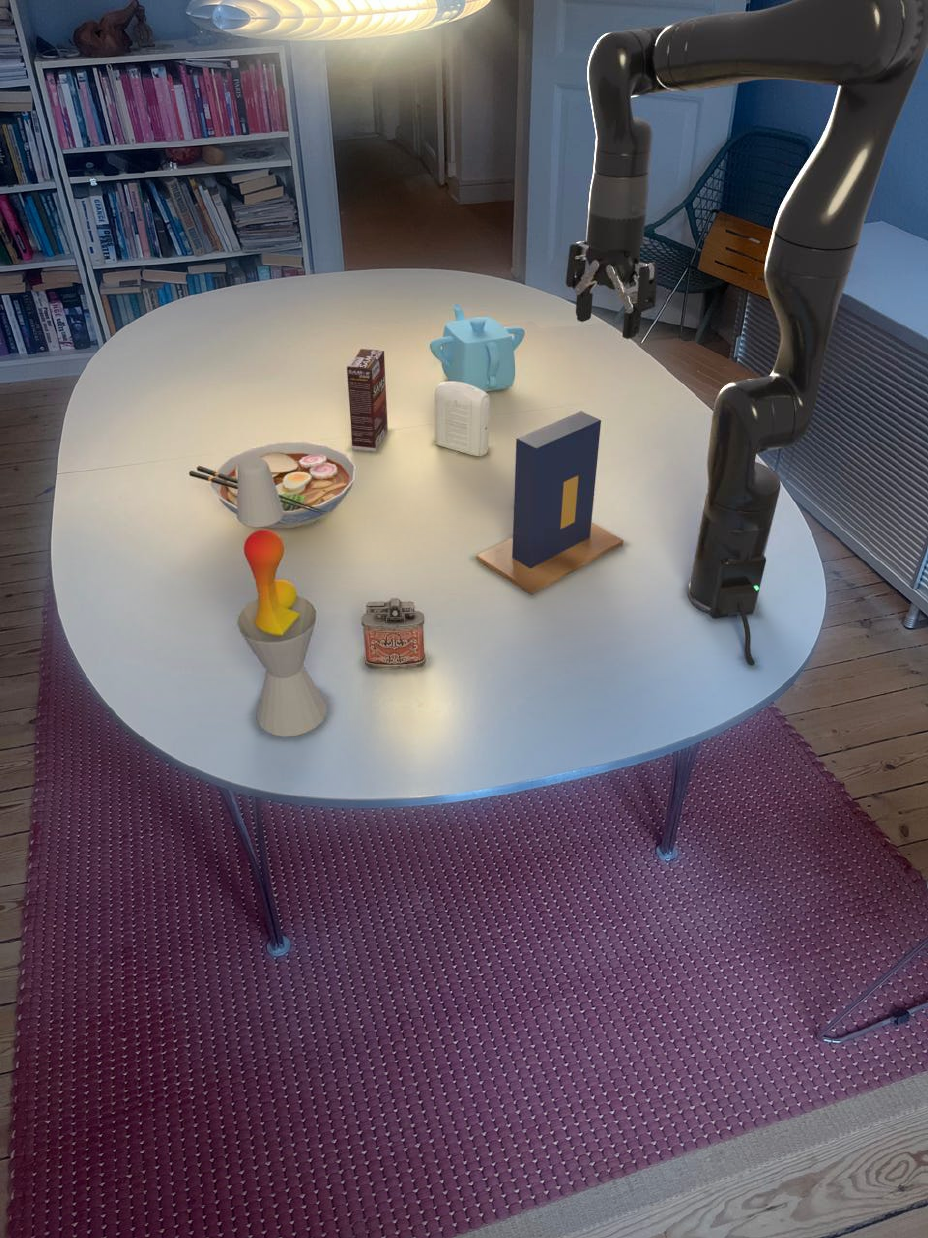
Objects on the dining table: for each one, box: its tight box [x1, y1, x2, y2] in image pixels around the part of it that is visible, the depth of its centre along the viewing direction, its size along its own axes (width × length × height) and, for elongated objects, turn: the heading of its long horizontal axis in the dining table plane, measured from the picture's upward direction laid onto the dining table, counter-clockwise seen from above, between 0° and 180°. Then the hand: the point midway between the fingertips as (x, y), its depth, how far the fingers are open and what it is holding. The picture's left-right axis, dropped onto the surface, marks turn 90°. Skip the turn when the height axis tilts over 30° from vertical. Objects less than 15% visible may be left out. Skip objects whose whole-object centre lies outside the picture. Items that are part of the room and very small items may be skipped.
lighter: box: [360, 597, 427, 671], centre depth 123 cm, size 8×3×10 cm, turn 92°
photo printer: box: [434, 380, 491, 457], centre depth 169 cm, size 10×4×12 cm, turn 60°
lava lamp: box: [236, 457, 327, 738], centre depth 108 cm, size 9×9×35 cm
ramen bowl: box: [188, 441, 357, 529], centre depth 153 cm, size 25×23×8 cm
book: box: [512, 410, 602, 569], centre depth 140 cm, size 20×4×13 cm
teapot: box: [429, 304, 526, 392], centre depth 191 cm, size 18×16×14 cm
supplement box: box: [346, 348, 389, 453], centre depth 171 cm, size 9×5×16 cm, turn 168°
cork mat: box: [476, 522, 624, 595], centre depth 146 cm, size 20×12×1 cm, turn 131°
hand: (605, 328), depth 134 cm, fingers open, 8 cm apart
